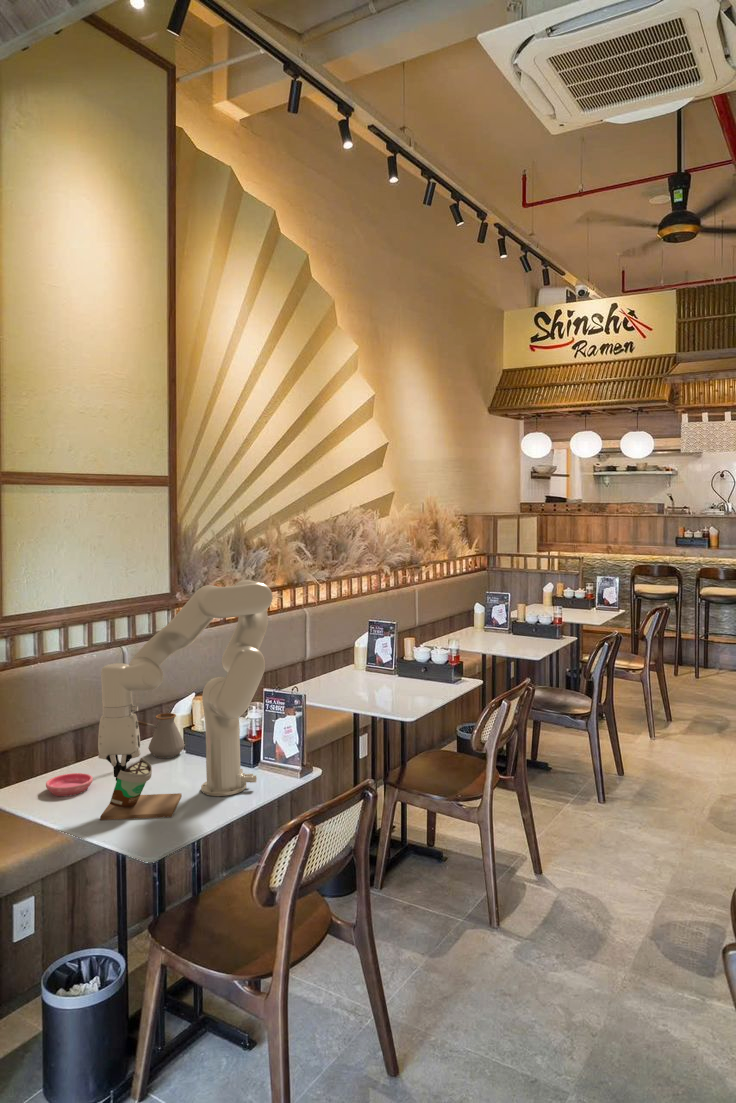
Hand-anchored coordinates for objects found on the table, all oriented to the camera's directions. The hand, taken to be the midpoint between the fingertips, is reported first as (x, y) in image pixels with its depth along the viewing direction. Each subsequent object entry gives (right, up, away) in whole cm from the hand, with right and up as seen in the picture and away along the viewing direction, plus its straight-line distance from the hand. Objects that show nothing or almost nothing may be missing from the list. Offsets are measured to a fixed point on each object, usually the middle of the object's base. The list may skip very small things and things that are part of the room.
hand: (120, 779), depth 200 cm
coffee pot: (-3, -6, +42) cm, 43 cm away
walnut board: (+6, -8, +1) cm, 10 cm away
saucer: (-19, -8, +15) cm, 26 cm away
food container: (+2, -6, 0) cm, 7 cm away
